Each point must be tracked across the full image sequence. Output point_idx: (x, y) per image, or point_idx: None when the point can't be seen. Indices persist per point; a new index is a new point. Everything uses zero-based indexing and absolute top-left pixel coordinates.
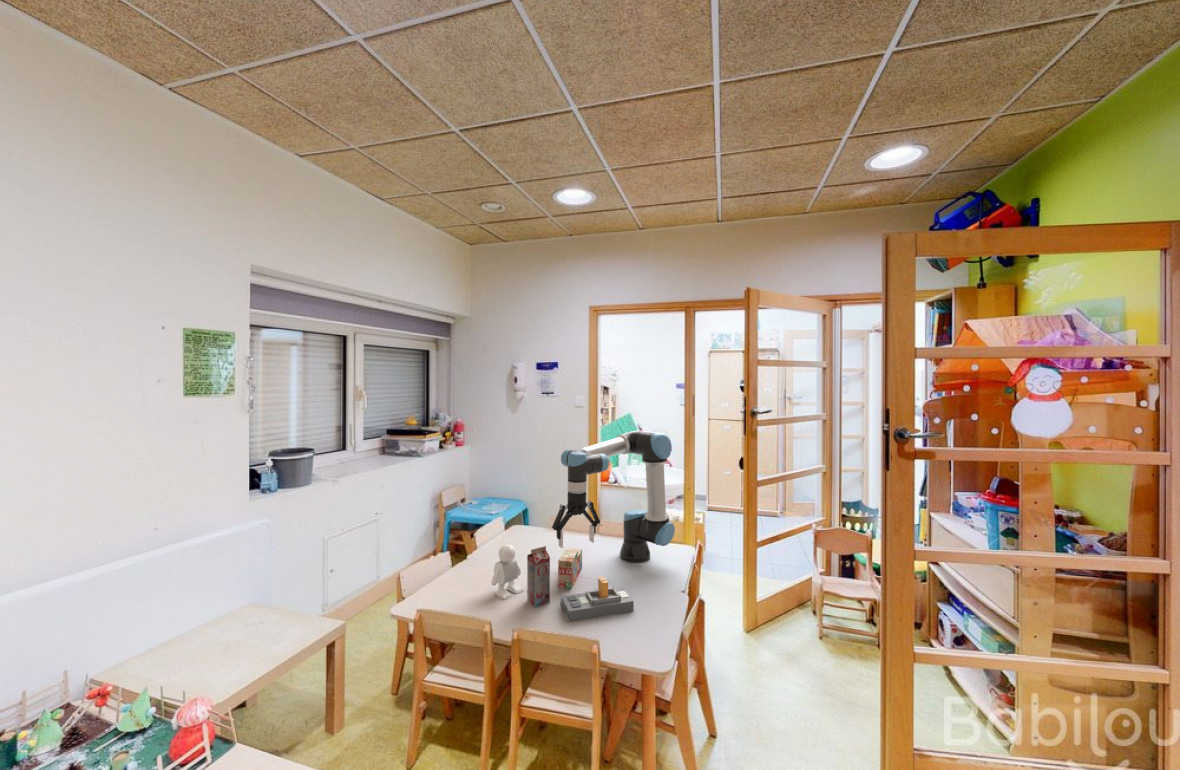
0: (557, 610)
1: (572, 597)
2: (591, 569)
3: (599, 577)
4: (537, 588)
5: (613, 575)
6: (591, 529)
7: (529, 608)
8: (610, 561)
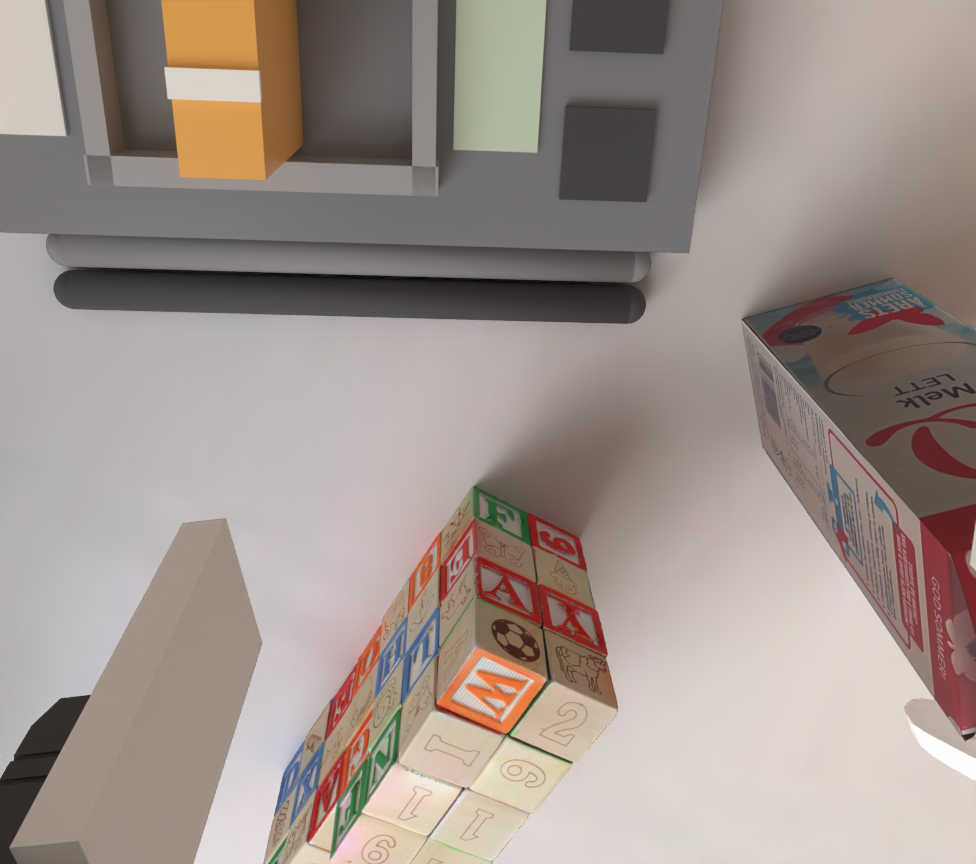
0: (728, 160)
1: (597, 169)
2: None
3: (249, 176)
4: (952, 343)
5: (35, 600)
6: (144, 791)
7: (943, 278)
8: None
